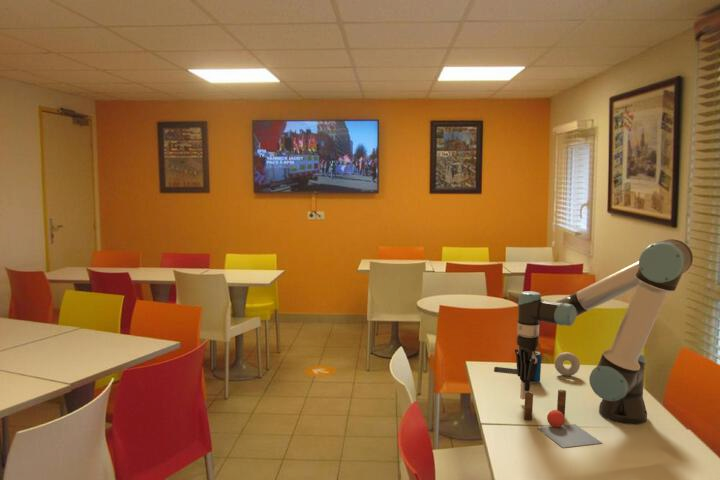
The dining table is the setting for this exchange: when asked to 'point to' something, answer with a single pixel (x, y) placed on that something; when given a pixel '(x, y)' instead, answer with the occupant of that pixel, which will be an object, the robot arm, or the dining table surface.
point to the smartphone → (505, 370)
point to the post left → (528, 406)
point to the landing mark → (569, 436)
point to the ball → (555, 418)
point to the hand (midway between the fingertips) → (524, 398)
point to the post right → (561, 401)
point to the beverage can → (538, 371)
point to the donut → (570, 357)
